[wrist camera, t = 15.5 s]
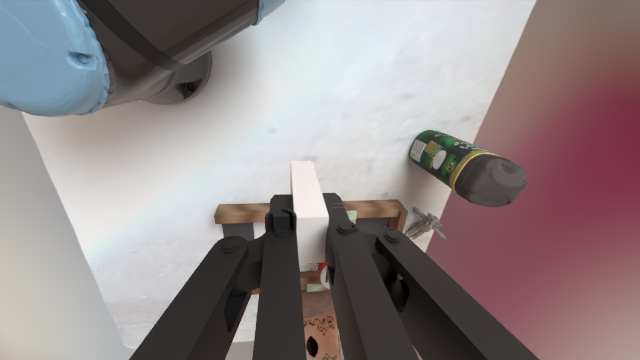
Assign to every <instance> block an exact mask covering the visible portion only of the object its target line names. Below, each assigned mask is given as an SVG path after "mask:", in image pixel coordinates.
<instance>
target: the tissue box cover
mask: <svg viewBox="0 0 640 360" xmlns="http://www.w3.org/2000/svg"><path fill="white" fill-rule="evenodd" d="M301 294H302V306H303V319H304V331H305V344H306V356H307V360H340V351H339V350H340V349H339V337H338V325H337V320H336V315H335V310H334V306H333V301H332V296H331V291H330V290H325V291H314V292H307V290H301Z"/></svg>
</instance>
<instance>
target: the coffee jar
mask: <svg viewBox="0 0 640 360" xmlns="http://www.w3.org/2000/svg"><path fill="white" fill-rule="evenodd" d="M410 158H411V160H412V161H413V162H414V163H416V164H417V165H419V166H420V167H422V168H423V169H425V170H426V171H428V172H429V173H430V174H432V175H433V176H435V177H436V178H438V179H439V180H440V181H442V182H443V183H445V184H446V185H448V186H449V187H450V188H451V189H452V190H453V191H454V192H455V193H457V194H458V195H460V196H461V197H463V198H465V199H466V200H468V201H469V202H471V203H475V204H479V205H483V206H488V207H499V206H503V205H507V204H511V203H512V202H513V201H514V200H515V199H516V198H517V196H518V195H519V194H520V193H521V191H522V190H523V189H524V187H525V186H526V184H527V176H526V172H525V170H524V169H523V168H522V167H521V166H519V165H518V164H516V163H514V162H512V161H510V160H508V159H506V158H503V157H501V156H499V155H496V154H494V153H492V152H489V151H487V150H485V149H483V148H480V147H478V146H475V145H473V144H470V143H467V142H465V141H462V140H459V139H457V138H455V137H452V136H450V135H447V134H444V133H441V132H438V131H433V130H427V131H424V132H422V133H421V134H420V135H419V136H418V137H417V139H416V140H415V142H414V143H413V146H412V148H411V151H410Z"/></svg>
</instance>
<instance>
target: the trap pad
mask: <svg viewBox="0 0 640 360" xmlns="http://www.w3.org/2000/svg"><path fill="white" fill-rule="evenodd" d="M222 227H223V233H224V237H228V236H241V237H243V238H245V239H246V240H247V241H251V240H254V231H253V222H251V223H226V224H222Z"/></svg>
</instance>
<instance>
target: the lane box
mask: <svg viewBox="0 0 640 360" xmlns="http://www.w3.org/2000/svg"><path fill="white" fill-rule="evenodd" d="M342 204H343V205H344V208H345V210H346V212H347V214H348V217H349V219H350V220H356V218H378V217H388V219H387V223H386V227H385V228H394V229H397V230H399V231H401V232H402V231H403V228H404V224H405V221H406V217H407V213H408V211H407V210H406V209H405V208H404V206H403V205H402V204H401V203H400V202H399V201H398V200H370V201H342ZM269 211H270V203H259V204H222V205H219V206H218V208H217V210H216V213H215V215H214V218H215V223H216V224H226V223H251V222H265V215H266V213H268V212H269ZM300 282H301V290H307V292H314V291H325V290H330V289H328V288H326V287H325V286H323V284H322V283H321V280H320V275H319V271H309V272H300ZM259 292H260V288H258V289H255V290H252V294H251V295H254V294H259Z"/></svg>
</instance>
